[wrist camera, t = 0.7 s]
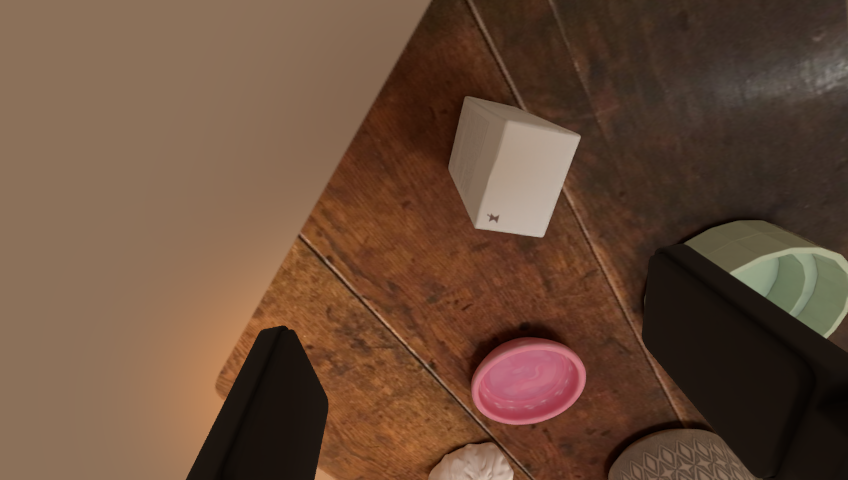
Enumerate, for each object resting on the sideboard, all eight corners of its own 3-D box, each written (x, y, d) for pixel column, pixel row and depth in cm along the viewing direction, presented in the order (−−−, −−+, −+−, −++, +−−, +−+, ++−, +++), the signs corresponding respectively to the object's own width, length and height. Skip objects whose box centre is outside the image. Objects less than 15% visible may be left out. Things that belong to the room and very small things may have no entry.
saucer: (537, 413, 46) (545, 436, 43) (449, 389, 43) (452, 412, 40) (596, 343, 41) (610, 364, 38) (501, 311, 38) (509, 331, 35)
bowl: (667, 218, 34) (716, 249, 29) (818, 216, 35) (893, 246, 30) (624, 341, 41) (657, 384, 36) (751, 337, 42) (802, 378, 37)
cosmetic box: (494, 177, 31) (543, 242, 21) (446, 168, 31) (471, 230, 20) (516, 103, 29) (585, 135, 18) (464, 92, 28) (503, 118, 17)
